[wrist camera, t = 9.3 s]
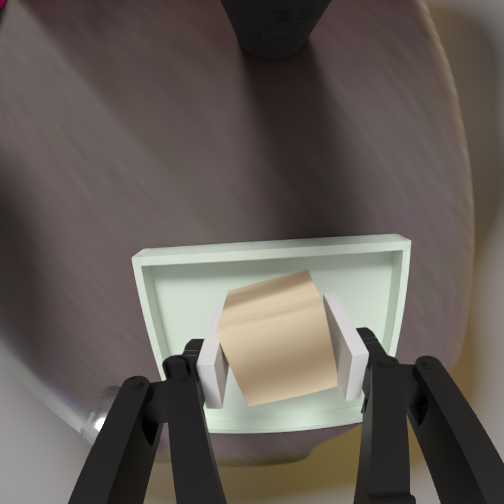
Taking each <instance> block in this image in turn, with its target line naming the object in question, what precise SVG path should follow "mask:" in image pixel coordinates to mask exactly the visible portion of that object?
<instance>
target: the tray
mask: <svg viewBox="0 0 504 504" xmlns="http://www.w3.org/2000/svg"><path fill="white" fill-rule="evenodd" d="M410 250H411V240H409V239H407V238H405V237H403V236H401V235H399V234H380V235H360V236H341V237H323V238H305V239H288V240H271V241H255V242H239V243H223V244H208V245H193V246H178V247H164V248H150V249H143V250H141V251H140V252H139V253H137V254H136V255H135V256H133V257H132V263H133V268H134V274H135V279H136V283H137V288H138V293H139V297H140V302H141V306H142V310H143V315H144V319H145V323H146V327H147V331H148V334H149V338H150V342H151V345H152V349H153V353H154V356H155V359H156V363H157V366H158V369H159V373H160V376H161V379H162V381H164V380H166V377H165V374H164V371H163V367H162V363H163V361H164V360H165V359H166V358H168V357H170V356H173V355H182V353H183V351H184V348H185V346H186V344H187V343H188V342H189V341H190V340H191V339H205V336H206V333H207V329H208V326H209V323H210V320H211V317H212V314H213V311H214V308H215V305H216V301H217V300H218V299H226V296H227V292H228V291H229V290H233V289H237V288H241V287H245V286H248V285H252V284H256V283H260V282H263V281H267V280H271V279H275V278H278V277H282V276H286V275H289V274H293V273H296V272H300V271H304V270H307V269H308V271H309V273H310V276H311V278H312V280H313V282H314V284H315V287H316V289H317V291H318V293H319V296H320V298H321V300H322V303H323V293H332V292H335V293H336V295H337V296H338V298H339V300H340V302H341V303H342V305H343V307H344V309H345V310H346V312H347V314H348V316H349V317H350V319H351V321H352V323H353V325H354V326H355V328H362V327H367V328H369V329H370V330H372V331H373V333H374V334H375V336H376V338H377V339H378V341H379V342H380V344H381V345H382V347H383V349H384V350H385V352H386V353H387V355H390V356H392V357H395V353H396V348H397V344H398V339H399V333H400V328H401V322H402V316H403V310H404V304H405V297H406V289H407V281H408V272H409V262H410ZM364 397H365V395H364V393H363V390H362V393H361V398H358V399H352V400H345V398H344V395H343V392H342V389H341V386H340V383H339V386H336V387H332V388H329V389H325V390H321V391H318V392H314V393H310V394H306V395H302V396H297V397H293V398H289V399H284V400H279V401H274V402H269V403H264V404H259V405H253V406H248V405H247V403H246V401H245V398H244V396H243V394H242V392H241V390H240V388H239V385H238V383H237V381H236V379H235V377H234V374H233V372H232V370H231V367H230V365H229V370H228V376H227V383H226V389H225V396H224V402H223V409H207V408H206V404H205V403H204V407H203V409H204V413H205V417H206V422H207V427H208V431H209V433H271V432H287V431H299V430H310V429H318V428H326V427H333V426H340V425H346V424H352V423H358V422H362V416H363V413H361V410H362V405H363V401H364Z"/></svg>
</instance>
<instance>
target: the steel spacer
mask: <svg viewBox="0 0 504 504" xmlns="http://www.w3.org/2000/svg"><path fill="white" fill-rule="evenodd" d="M119 390H120V387H116V386H110V387H107V388H106V389H105V391H104V392H103V394H102V395H101V397H100V399H99V400H98V402H97V403H96V405H95V407H94V408H93V410H92V412H91V413H90V415H89V417H88V418H87V420H86V421H85V423H84V425H83V427H82V428H81V433H82V435H83V437H84V438H85V439H86V440H87V442H88V443H90V444H91V445H92V446H93V444H94V442H95V440H96V437H97V435H98V433H99V431H100V429H101V427H102V425H103V423H104V421H105V418H106V416H107V414H108V412H109V410H110V408H111V406H112V404H113V402H114V400H115V398H116V396H117V394H118V392H119Z"/></svg>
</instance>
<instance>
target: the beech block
mask: <svg viewBox="0 0 504 504" xmlns="http://www.w3.org/2000/svg"><path fill="white" fill-rule="evenodd" d="M216 335H217V337H218V339H219V341H220V344H221V347H222V349H223V351H224V354H225V356H226V358H227V361H228V363H229V365H230V367H231V370H232V372H233V374H234V377H235V379H236V381H237V383H238V385H239V388H240V390H241V392H242V394H243V396H244V398H245V401H246V403H247V405H248V406H253V405H259V404H264V403H269V402H274V401H279V400H284V399H289V398H293V397H297V396H302V395H306V394H310V393H314V392H318V391H321V390H325V389H329V388H332V387H336V386H339V380H338V377H337V376H338V374H337V369H336V363H335V358H334V353H333V347H332V342H331V337H330V332H329V327H328V322H327V318H326V313H325V308H324V305H323V303H322V300H321V298H320V296H319V293H318V291H317V289H316V287H315V284H314V282H313V280H312V278H311V276H310V273H309V271H308V269H307V270H304V271H300V272H296V273H293V274H289V275H286V276H282V277H278V278H275V279H271V280H267V281H263V282H260V283H256V284H252V285H248V286H245V287H241V288H237V289H233V290H229V291H228V292H227V296H226V299H225V303H224V306H223V310H222V313H221V317H220V321H219V324H218V328H217V331H216Z"/></svg>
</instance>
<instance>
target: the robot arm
mask: <svg viewBox="0 0 504 504" xmlns="http://www.w3.org/2000/svg"><path fill="white" fill-rule="evenodd" d="M224 303H225V299H218V300H217V301H216V305H215V308H214V311H213V314H212V317H211V320H210V323H209V326H208V329H207V333H206V336H205V339H191V340H190V341H189V342H188V343H187V344H186V346H185V348H184V351H183V353H182V355H173V356H170V357H168V358H166V359H165V360H164V361H163V363H162V367H163V371H164V374H165V377H166V380H164V381H160V382H154V383H150V382H149V380H148V379H147V378H146V377H143V376H133V377H130V378H128V379H127V380H125V381H124V383H123V384H122V386H121V388H120V390H119V392H118V394H117V396H116V398H115V400H114V402H113V404H112V406H111V408H110V410H109V412H108V414H107V416H106V418H105V421H104V423H103V425H102V427H101V429H100V431H99V433H98V435H97V437H96V440H95V442H94V444H93V446H92V448H91V451H90V453H89V455H88V457H87V460H86V462H85V464H84V466H83V469H82V471H81V473H80V476H79V478H78V480H77V483H76V485H75V487H74V490H73V492H72V495H71V497H70V500H69V502H68V504H143V502H144V498H145V493H146V489H147V485H148V481H149V477H150V474H151V470H152V466H153V462H154V458H155V454H156V451H157V447H158V443H159V439H160V436H161V432H162V428H163V425H164V423H166V422H168V427H169V440H170V451H171V461H172V470H173V479H174V486H175V493H176V501H177V504H227V502H226V499H225V495H224V492H223V488H222V484H221V481H220V477H219V473H218V469H217V465H216V461H215V457H214V453H213V449H212V444H211V440H210V436H209V431H208V427H207V422H206V417H205V413H204V409H203V407H204V403H205V404H206V408H207V409H223V402H224V396H225V389H226V383H227V376H228V370H229V363H228V361H227V358H226V356H225V354H224V351H223V349H222V347H221V344H220V341H219V339H218V337H217V335H216V331H217V328H218V324H219V321H220V317H221V313H222V310H223V306H224ZM323 305H324V308H325V313H326V318H327V322H328V327H329V332H330V337H331V342H332V347H333V353H334V358H335V363H336V369H337V374H338V376H337V377H338V380H339V383H340V386H341V389H342V392H343V395H344V398H345V400H352V399H358V398H361V393H362V390H363V393H364V395H365V397H364V401H363V405H362V410H361V413H363V416H362V433H361V447H360V456H359V467H358V475H357V482H356V490H355V496H354V503H353V504H416V499H415V497H414V496H413V495H411V494H410V463H409V443H408V429H407V418H406V414H407V416H408V418H409V421H410V423H411V425H412V428H413V430H414V433H415V435H416V437H417V440H418V442H419V445H420V448H421V450H422V453H423V455H424V458H425V460H426V463H427V466H428V468H429V471H430V474H431V476H432V479H433V482H434V485H435V488H436V490H437V493H438V496H439V500H440V502H441V504H504V463H503V462H502V460H501V458H500V456H499V454H498V452H497V450H496V449H495V447H494V445H493V443H492V441H491V440H490V438H489V436H488V434H487V433H486V431H485V430H484V428H483V426H482V424H481V423H480V421H479V419H478V418H477V416H476V415H475V413H474V411H473V410H472V408H471V407H470V405H469V404H468V402H467V400H466V399H465V397H464V396H463V394H462V393H461V392H460V390H459V388H458V387H457V385H456V384H455V383H454V381H453V379H452V378H451V377H450V375H449V374H448V372H447V371H446V369H445V368H444V366H443V365H442V364H441V362H440V361H439V360H438V359H437V358H435V357H432V356H422V357H419V358H418V359H417V360H416V362H415V365H407V364H399V362H398V360H397V359H396V358H395V357H392V356H390V355H387V353H386V352H385V350H384V349H383V347H382V345H381V344H380V342H379V341H378V339H377V338H376V336H375V334H374V333H373V331H372V330H370V329H369V328H367V327H362V328H355V326H354V325H353V323H352V321H351V319H350V317H349V316H348V314H347V312H346V310H345V309H344V307H343V305H342V303H341V302H340V300H339V298H338V296H337V295H336V293H335V292H332V293H323Z"/></svg>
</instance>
